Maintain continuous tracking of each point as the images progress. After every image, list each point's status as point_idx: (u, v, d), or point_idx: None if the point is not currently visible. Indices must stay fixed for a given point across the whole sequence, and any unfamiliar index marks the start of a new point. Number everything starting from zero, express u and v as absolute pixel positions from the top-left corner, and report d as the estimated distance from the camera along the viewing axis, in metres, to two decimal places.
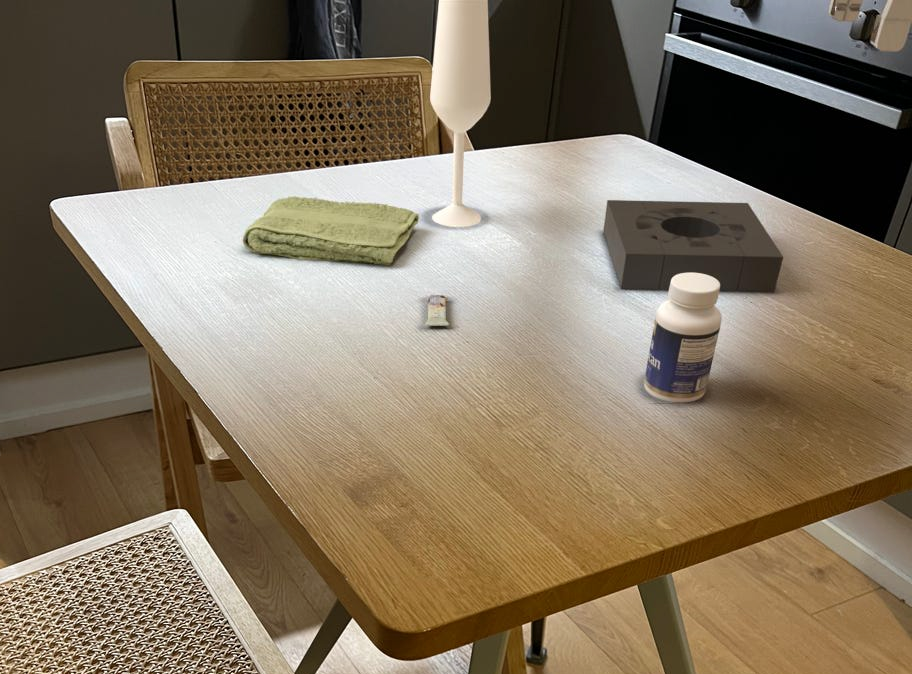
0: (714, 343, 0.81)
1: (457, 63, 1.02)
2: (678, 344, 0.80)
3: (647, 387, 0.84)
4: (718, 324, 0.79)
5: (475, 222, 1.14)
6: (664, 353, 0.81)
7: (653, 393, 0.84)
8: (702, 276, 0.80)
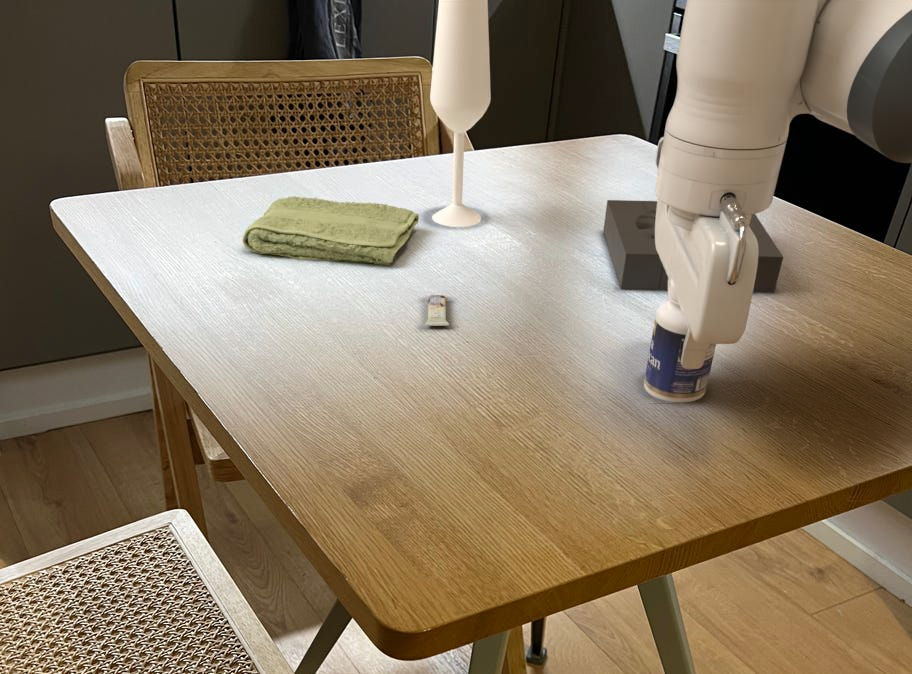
0: None
1: (457, 63, 1.02)
2: (678, 344, 0.80)
3: (647, 387, 0.84)
4: None
5: (475, 222, 1.14)
6: (664, 354, 0.81)
7: (653, 393, 0.84)
8: None
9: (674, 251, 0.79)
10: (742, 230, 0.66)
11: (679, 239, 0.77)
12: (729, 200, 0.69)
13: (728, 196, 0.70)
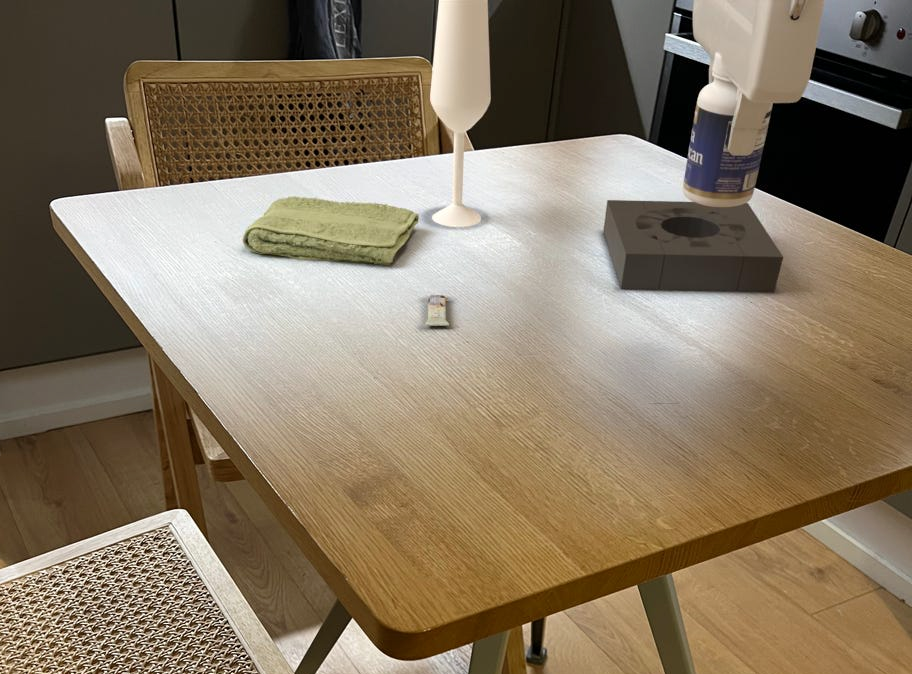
0: (765, 129, 0.71)
1: (457, 63, 1.02)
2: (725, 129, 0.70)
3: (687, 191, 0.74)
4: None
5: (475, 222, 1.14)
6: (708, 143, 0.71)
7: (694, 196, 0.74)
8: None
9: (719, 19, 0.69)
10: None
11: (726, 1, 0.67)
12: None
13: None
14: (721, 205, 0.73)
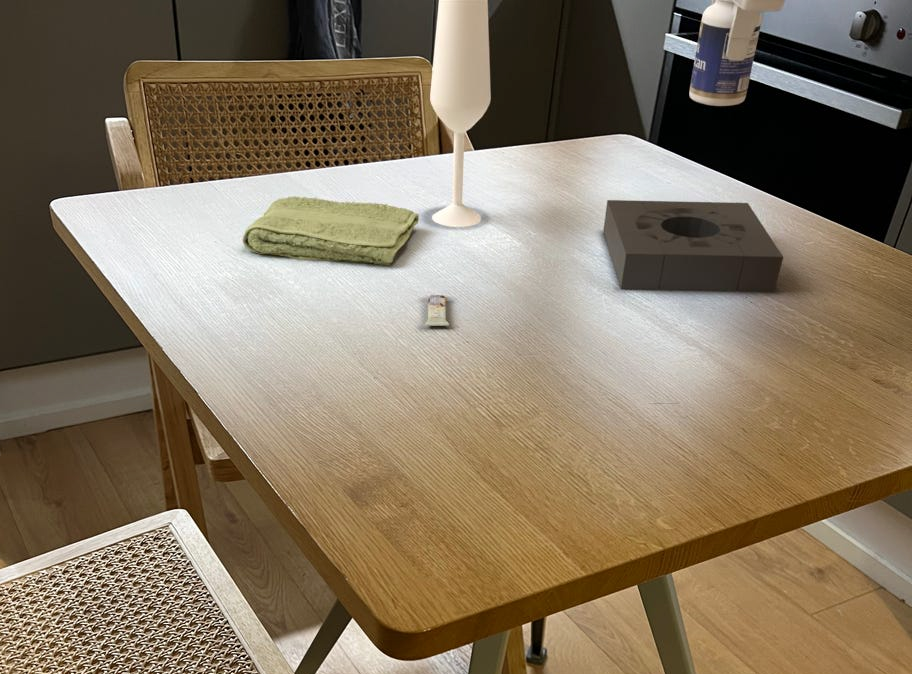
0: (755, 41, 0.89)
1: (457, 63, 1.02)
2: (723, 39, 0.88)
3: (692, 93, 0.93)
4: (759, 20, 0.88)
5: (475, 222, 1.14)
6: (710, 52, 0.89)
7: (698, 97, 0.92)
8: None
9: None
10: None
11: None
12: None
13: None
14: (720, 104, 0.92)
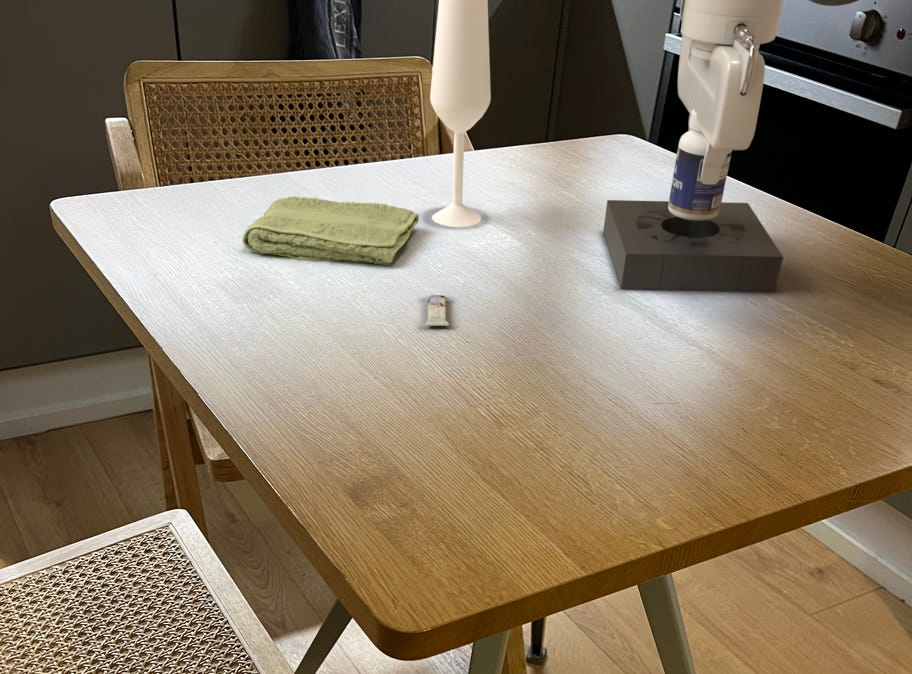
0: (727, 165, 0.98)
1: (457, 63, 1.02)
2: (698, 165, 0.97)
3: (671, 208, 1.02)
4: None
5: (475, 222, 1.14)
6: (686, 174, 0.98)
7: (676, 212, 1.01)
8: None
9: (695, 86, 0.96)
10: (752, 46, 0.84)
11: (699, 75, 0.95)
12: (741, 28, 0.87)
13: (740, 25, 0.87)
14: (695, 219, 1.01)
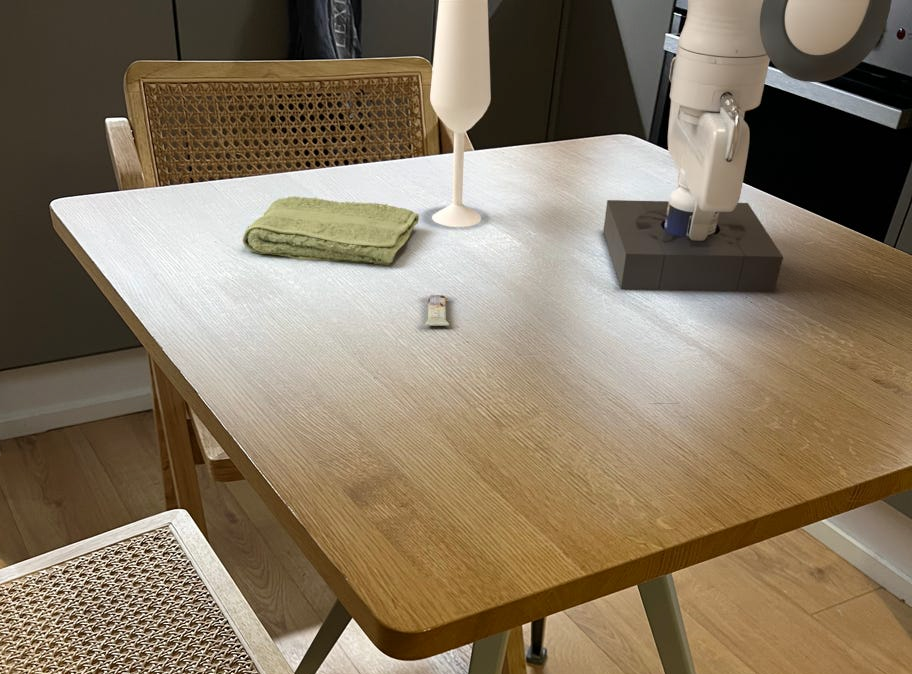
0: (715, 221, 1.02)
1: (457, 63, 1.02)
2: (687, 221, 1.01)
3: None
4: None
5: (475, 222, 1.14)
6: (676, 229, 1.02)
7: None
8: None
9: (684, 147, 1.00)
10: (737, 116, 0.88)
11: (688, 136, 0.99)
12: (727, 97, 0.90)
13: (726, 94, 0.91)
14: None
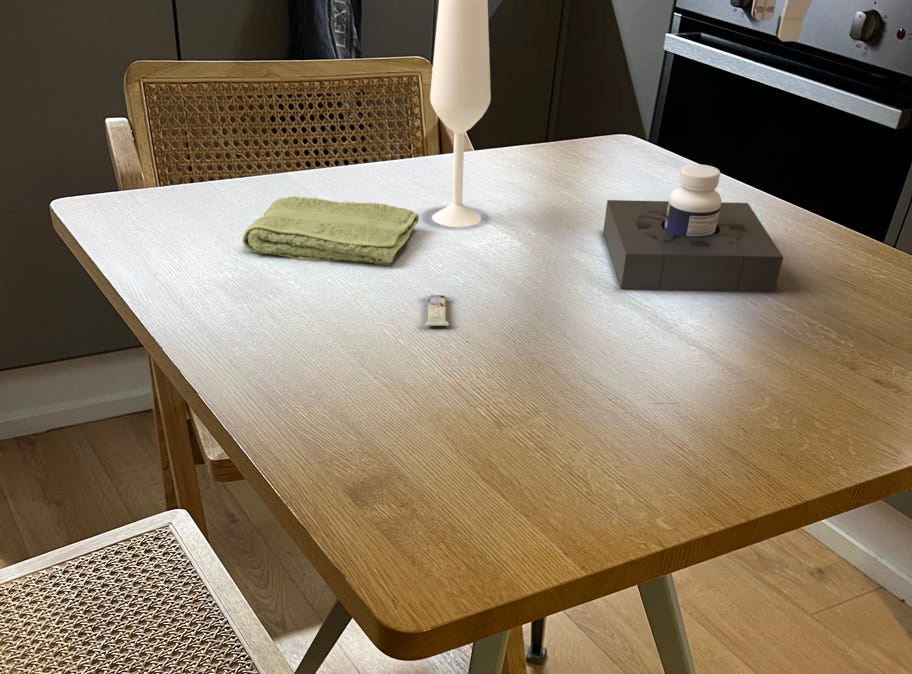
0: (715, 220, 1.02)
1: (457, 63, 1.02)
2: (687, 221, 1.01)
3: None
4: (718, 204, 1.01)
5: (475, 222, 1.14)
6: (676, 229, 1.02)
7: None
8: (706, 166, 1.01)
9: None
10: None
11: None
12: None
13: None
14: None
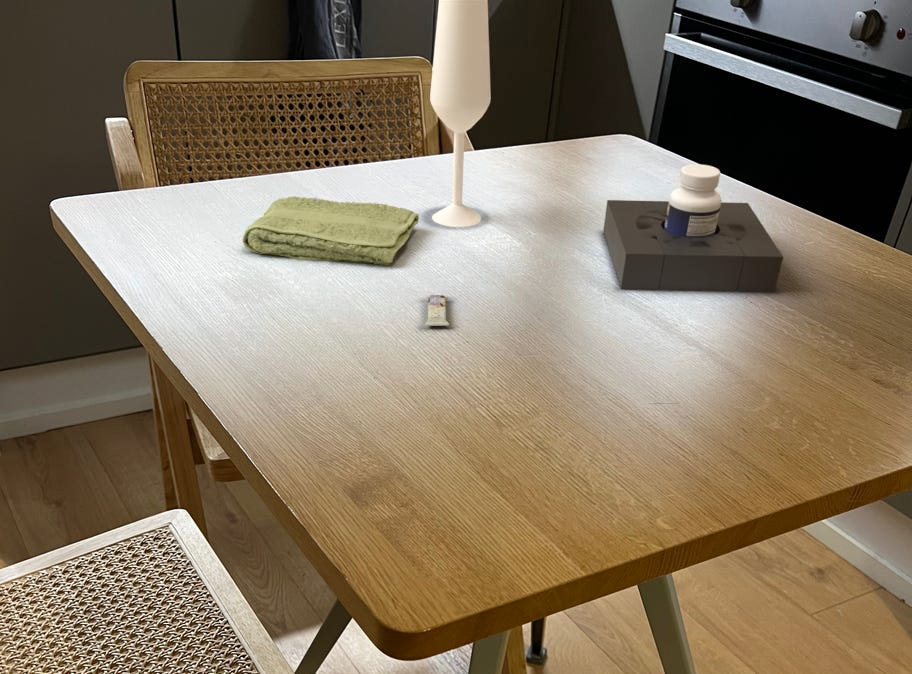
0: (715, 220, 1.02)
1: (457, 63, 1.02)
2: (687, 221, 1.01)
3: None
4: (718, 204, 1.01)
5: (475, 222, 1.14)
6: (676, 229, 1.02)
7: None
8: (706, 166, 1.01)
9: None
10: None
11: None
12: None
13: None
14: None
